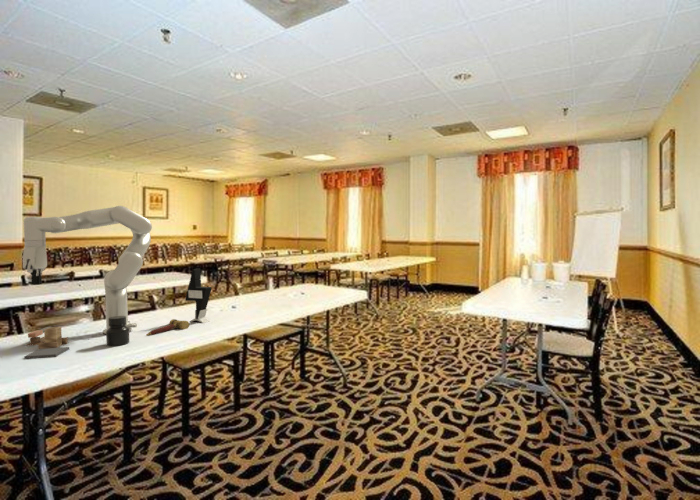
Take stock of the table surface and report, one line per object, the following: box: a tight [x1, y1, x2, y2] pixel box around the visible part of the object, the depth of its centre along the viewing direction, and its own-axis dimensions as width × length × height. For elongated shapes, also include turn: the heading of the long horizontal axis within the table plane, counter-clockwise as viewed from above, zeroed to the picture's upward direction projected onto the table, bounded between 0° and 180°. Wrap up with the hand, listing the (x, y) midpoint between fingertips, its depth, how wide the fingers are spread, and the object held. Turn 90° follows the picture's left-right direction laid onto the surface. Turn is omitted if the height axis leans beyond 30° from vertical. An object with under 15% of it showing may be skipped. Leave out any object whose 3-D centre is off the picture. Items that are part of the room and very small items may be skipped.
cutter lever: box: [27, 326, 51, 339], centre depth 181 cm, size 3×15×2 cm, turn 12°
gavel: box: [146, 318, 190, 336], centre depth 199 cm, size 21×5×10 cm
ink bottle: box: [105, 316, 130, 347], centre depth 176 cm, size 10×9×12 cm
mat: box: [23, 346, 70, 360], centre depth 161 cm, size 11×11×1 cm
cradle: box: [37, 337, 69, 350], centre depth 173 cm, size 7×10×2 cm
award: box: [184, 268, 212, 324], centre depth 221 cm, size 15×5×30 cm, turn 68°
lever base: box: [25, 336, 45, 347], centre depth 183 cm, size 5×18×4 cm, turn 12°
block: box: [43, 326, 63, 347], centre depth 173 cm, size 4×4×8 cm
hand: (36, 284), depth 178 cm, fingers closed
